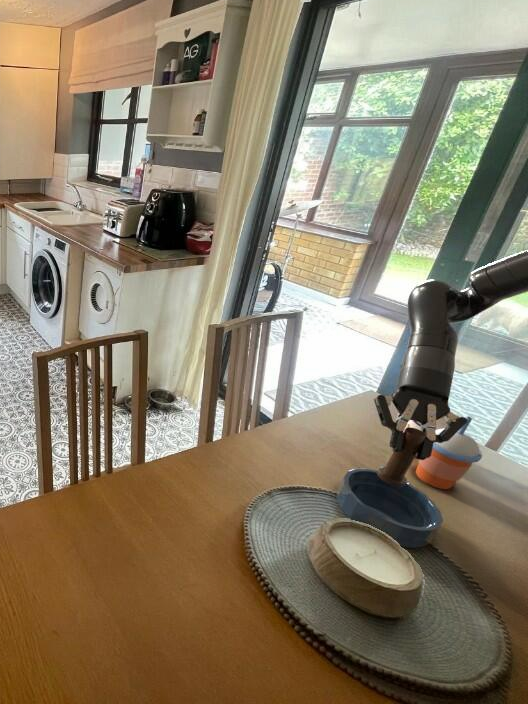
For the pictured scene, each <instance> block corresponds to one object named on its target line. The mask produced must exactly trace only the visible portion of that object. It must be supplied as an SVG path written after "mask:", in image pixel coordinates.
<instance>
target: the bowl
mask: <svg viewBox="0 0 528 704" xmlns="http://www.w3.org/2000/svg"><path fill="white" fill-rule="evenodd" d="M377 472H378V470H376V469H372V468H354V469H351V470H348V471H346V473H345V475H344V476H343V477H342V480H341V482H340V484H339V486H338V488H337V491H336V501H337V504H338V505H339V507H340V509H341V510H342V512H343V513H344V514H345V516H347V517H348V519H350V520H351V521H352V520H355V521H359V522H363V523H366V524H369V525H371V526H373V527H375V528H377V529H379V530H381V531H383V532H385V533H386V534H388V535H389V536H391V537H392V538H393V539H394V540H396V541H397V542H398V543H399V544H400V545H401V546H400V547H404V548H423V547H425V546H428V545H430V544H431V541H433V539H434V537H435V535H436V534H437V532H438V531H439V529H440V528H441V526H442V523H443V521H444V519H443V514H442V512H441V510H440V508H439V507H438V506H437V505H436V503H435V502H434V500H432V499H431V498H430V497H429V496H428V495H426V494H425V493H424V492H423V491H422V490H420V489H418V488H417V487H415V486H414V485H412V484H411V483H409V482H408V481H407V482H406V484H405V485H404V486H403V487H397V486H393V485H390V484H388V483H386V482H384V481H383V480H382V479H380V478H379V476H378V474H377ZM337 494H338V495H337Z"/></svg>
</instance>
